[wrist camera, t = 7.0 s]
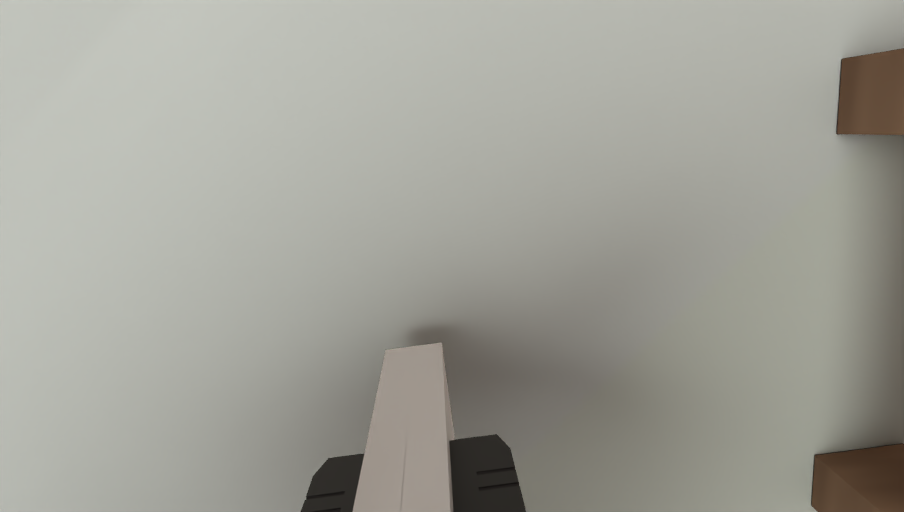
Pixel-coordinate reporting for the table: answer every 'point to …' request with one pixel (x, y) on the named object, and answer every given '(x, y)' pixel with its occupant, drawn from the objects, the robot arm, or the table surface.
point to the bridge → (888, 467)
